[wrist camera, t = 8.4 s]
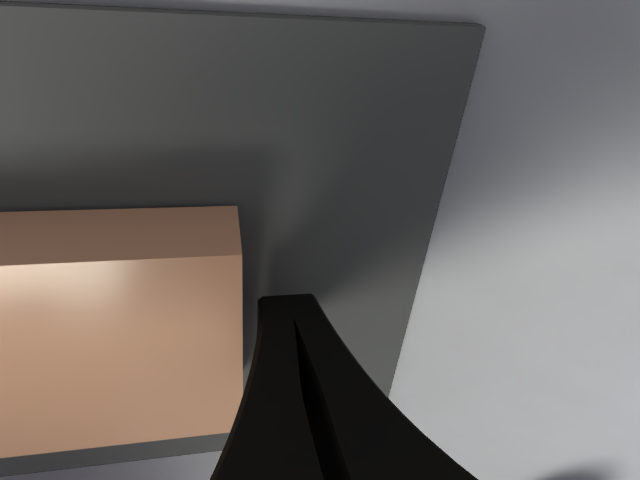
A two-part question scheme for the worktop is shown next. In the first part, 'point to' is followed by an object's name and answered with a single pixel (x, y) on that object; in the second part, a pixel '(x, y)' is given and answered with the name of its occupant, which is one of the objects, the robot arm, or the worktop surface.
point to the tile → (118, 326)
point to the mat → (244, 152)
